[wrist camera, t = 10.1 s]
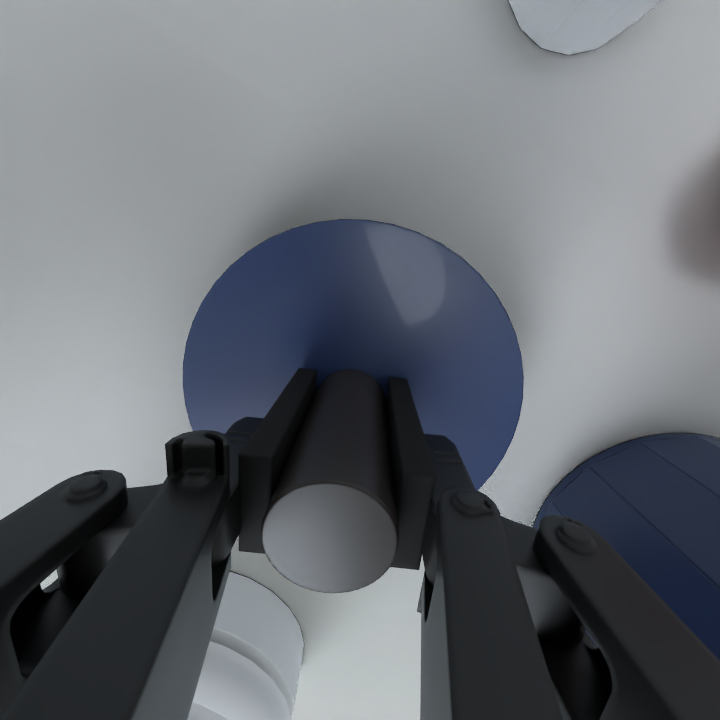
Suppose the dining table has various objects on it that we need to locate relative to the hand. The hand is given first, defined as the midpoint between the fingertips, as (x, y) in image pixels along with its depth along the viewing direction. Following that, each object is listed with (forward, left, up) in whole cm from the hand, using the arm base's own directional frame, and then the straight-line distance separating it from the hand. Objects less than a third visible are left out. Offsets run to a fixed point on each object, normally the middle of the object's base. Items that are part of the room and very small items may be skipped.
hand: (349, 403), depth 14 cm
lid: (0, 0, -1) cm, 1 cm away
